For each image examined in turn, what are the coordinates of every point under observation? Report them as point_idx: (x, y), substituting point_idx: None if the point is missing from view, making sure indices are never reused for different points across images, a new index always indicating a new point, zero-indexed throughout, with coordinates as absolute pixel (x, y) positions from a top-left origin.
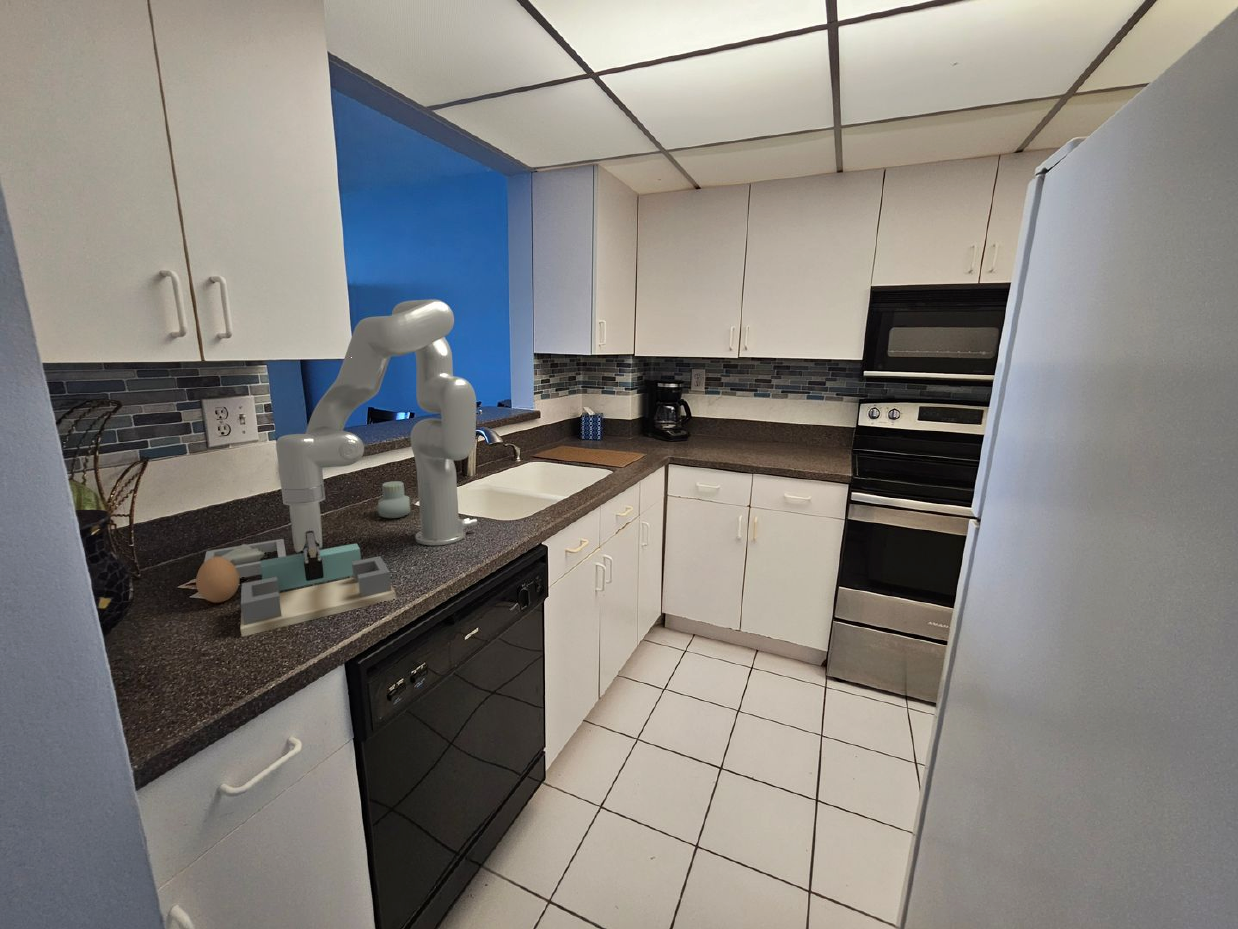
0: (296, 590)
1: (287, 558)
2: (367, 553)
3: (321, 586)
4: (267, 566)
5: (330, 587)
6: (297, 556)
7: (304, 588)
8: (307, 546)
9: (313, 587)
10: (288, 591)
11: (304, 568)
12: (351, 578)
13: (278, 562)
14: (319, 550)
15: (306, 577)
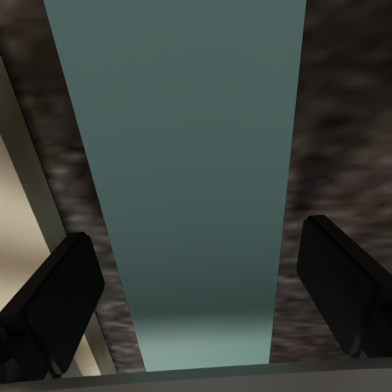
0: (12, 185)
1: (211, 201)
2: (339, 354)
3: (33, 269)
4: (45, 5)
5: (14, 293)
6: (219, 265)
7: (26, 215)
8: (375, 328)
9: (29, 245)
10: (6, 152)
11: (46, 275)
12: (82, 341)
13: (128, 128)
14: (260, 363)
15: (64, 244)
